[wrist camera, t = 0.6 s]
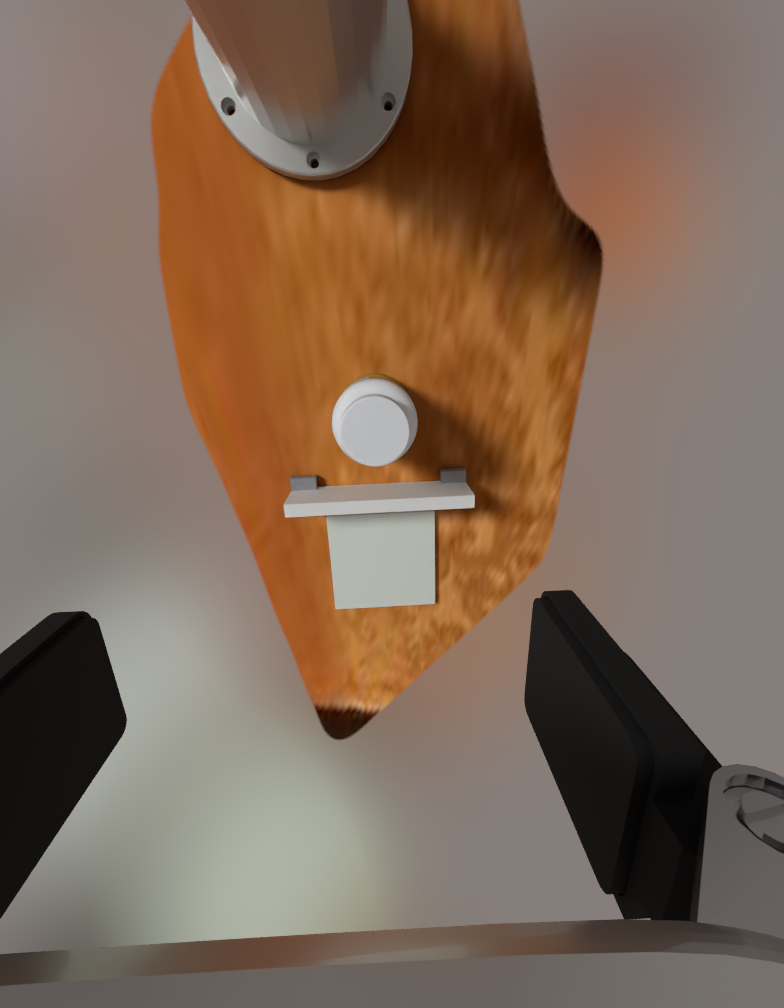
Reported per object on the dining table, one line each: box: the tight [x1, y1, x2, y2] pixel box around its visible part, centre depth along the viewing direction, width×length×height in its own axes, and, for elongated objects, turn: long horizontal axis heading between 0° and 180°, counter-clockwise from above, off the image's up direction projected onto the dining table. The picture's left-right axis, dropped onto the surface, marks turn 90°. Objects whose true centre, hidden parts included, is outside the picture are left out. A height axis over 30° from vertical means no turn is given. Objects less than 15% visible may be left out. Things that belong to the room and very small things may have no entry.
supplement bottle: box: [332, 374, 418, 467], centre depth 28 cm, size 5×5×10 cm
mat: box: [326, 510, 435, 609], centre depth 37 cm, size 9×9×1 cm
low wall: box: [284, 468, 475, 517], centre depth 33 cm, size 3×14×4 cm, turn 92°
